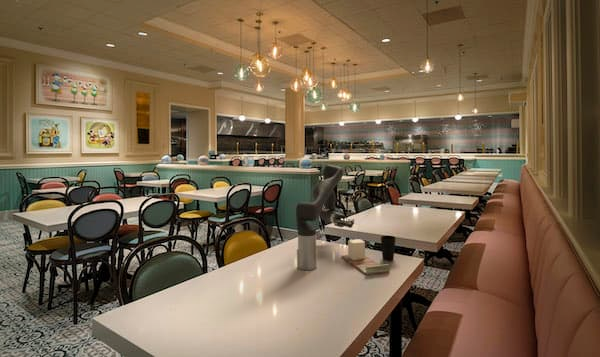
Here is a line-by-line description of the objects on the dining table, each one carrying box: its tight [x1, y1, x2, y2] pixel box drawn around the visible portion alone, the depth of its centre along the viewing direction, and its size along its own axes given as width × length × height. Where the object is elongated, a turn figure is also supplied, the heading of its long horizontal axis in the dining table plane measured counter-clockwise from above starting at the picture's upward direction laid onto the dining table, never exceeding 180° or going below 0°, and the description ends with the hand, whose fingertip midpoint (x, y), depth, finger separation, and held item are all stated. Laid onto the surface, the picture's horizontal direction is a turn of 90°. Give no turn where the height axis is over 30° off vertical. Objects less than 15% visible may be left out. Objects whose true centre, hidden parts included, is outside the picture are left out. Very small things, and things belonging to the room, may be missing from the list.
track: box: [341, 254, 390, 277], centre depth 179 cm, size 29×12×4 cm, turn 17°
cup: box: [380, 235, 397, 262], centre depth 186 cm, size 8×8×12 cm
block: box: [347, 239, 366, 260], centre depth 186 cm, size 6×7×9 cm
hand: (350, 225), depth 192 cm, fingers closed
